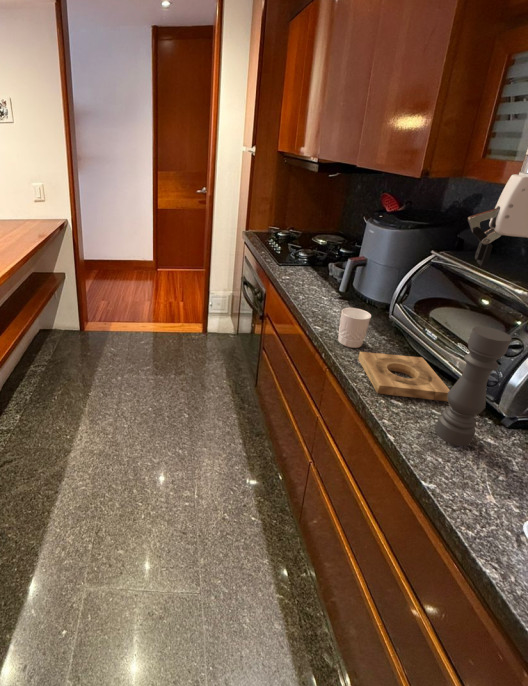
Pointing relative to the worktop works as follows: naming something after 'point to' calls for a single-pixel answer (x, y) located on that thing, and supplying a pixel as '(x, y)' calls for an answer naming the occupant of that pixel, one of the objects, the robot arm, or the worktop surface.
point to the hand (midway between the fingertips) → (515, 267)
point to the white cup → (353, 327)
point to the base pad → (388, 383)
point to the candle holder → (471, 386)
